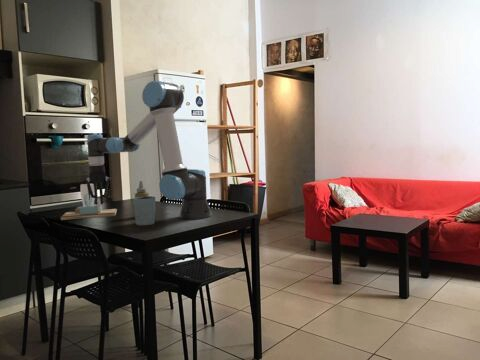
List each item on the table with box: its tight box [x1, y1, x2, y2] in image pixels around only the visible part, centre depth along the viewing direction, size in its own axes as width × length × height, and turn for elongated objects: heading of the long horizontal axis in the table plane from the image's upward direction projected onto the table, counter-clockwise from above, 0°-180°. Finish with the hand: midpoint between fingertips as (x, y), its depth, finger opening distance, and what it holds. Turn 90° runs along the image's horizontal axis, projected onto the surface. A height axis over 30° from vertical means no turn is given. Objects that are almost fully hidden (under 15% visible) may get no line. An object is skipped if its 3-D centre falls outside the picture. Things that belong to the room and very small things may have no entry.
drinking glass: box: [132, 195, 156, 226], centre depth 193 cm, size 10×10×12 cm
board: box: [60, 206, 118, 221], centre depth 222 cm, size 17×26×4 cm, turn 103°
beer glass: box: [79, 183, 95, 207], centre depth 223 cm, size 7×7×15 cm
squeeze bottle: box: [134, 180, 149, 198], centre depth 210 cm, size 8×8×18 cm
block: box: [78, 205, 99, 215], centre depth 216 cm, size 2×9×4 cm, turn 103°
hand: (99, 210), depth 217 cm, fingers closed
